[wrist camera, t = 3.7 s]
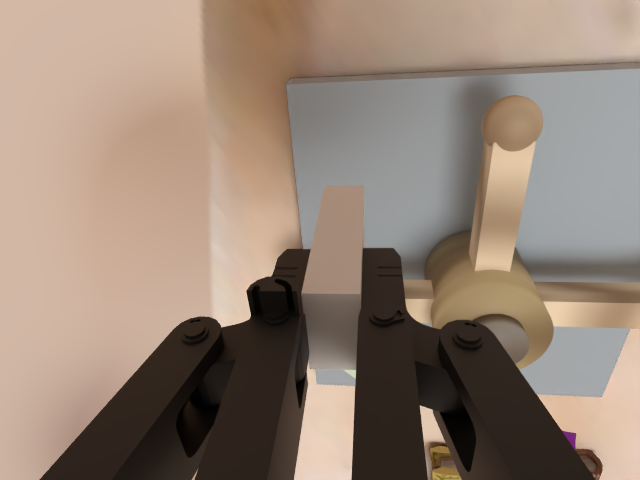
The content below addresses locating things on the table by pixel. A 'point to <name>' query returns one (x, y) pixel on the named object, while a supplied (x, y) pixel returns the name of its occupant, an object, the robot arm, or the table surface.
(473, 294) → the capstan
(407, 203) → the plate
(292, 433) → the robot arm
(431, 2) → the table surface
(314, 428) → the table surface
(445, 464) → the book
